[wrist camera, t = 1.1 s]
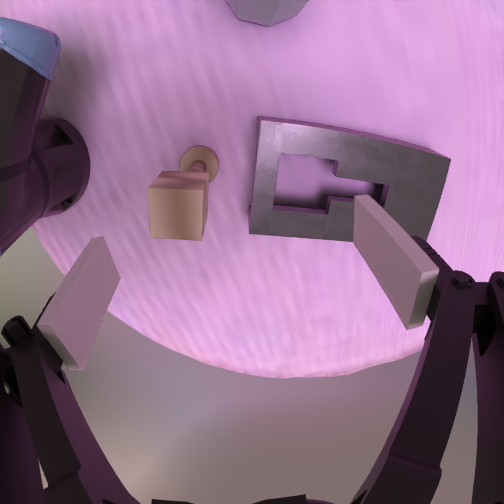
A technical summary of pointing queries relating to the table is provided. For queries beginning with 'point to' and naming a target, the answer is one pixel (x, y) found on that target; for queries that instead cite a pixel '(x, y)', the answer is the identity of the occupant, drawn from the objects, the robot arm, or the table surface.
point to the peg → (183, 196)
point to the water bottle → (266, 10)
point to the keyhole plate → (345, 166)
